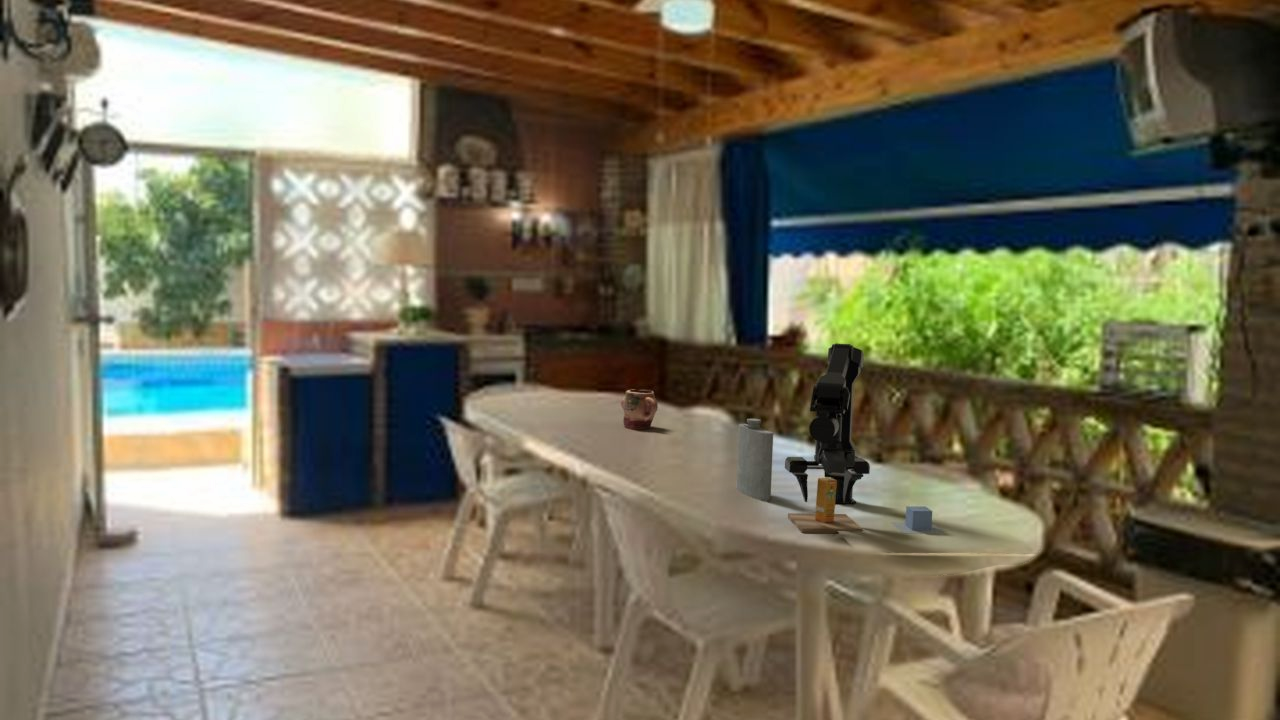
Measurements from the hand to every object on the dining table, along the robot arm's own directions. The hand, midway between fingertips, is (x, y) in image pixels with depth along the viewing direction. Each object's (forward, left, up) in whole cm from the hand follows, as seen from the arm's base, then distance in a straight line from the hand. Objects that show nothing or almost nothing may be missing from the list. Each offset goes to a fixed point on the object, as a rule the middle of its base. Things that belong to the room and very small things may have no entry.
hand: (825, 501), depth 234 cm
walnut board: (0, 0, -6) cm, 6 cm away
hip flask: (-32, -11, -6) cm, 34 cm away
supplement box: (0, 0, -5) cm, 5 cm away
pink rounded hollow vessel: (-140, -32, -6) cm, 144 cm away
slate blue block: (+4, +21, -5) cm, 22 cm away
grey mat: (+4, +21, -6) cm, 22 cm away
